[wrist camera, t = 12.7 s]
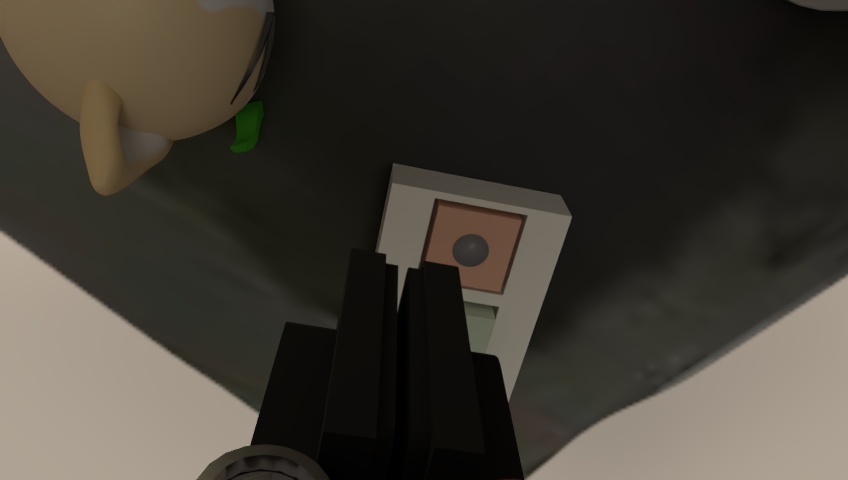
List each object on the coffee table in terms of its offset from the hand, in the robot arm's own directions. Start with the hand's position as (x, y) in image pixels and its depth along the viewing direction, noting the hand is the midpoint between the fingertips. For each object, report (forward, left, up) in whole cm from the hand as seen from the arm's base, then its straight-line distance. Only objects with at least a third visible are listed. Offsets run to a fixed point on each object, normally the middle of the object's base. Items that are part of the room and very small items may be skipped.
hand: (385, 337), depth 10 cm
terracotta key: (-6, +10, -26) cm, 29 cm away
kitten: (+10, 0, -27) cm, 29 cm away
